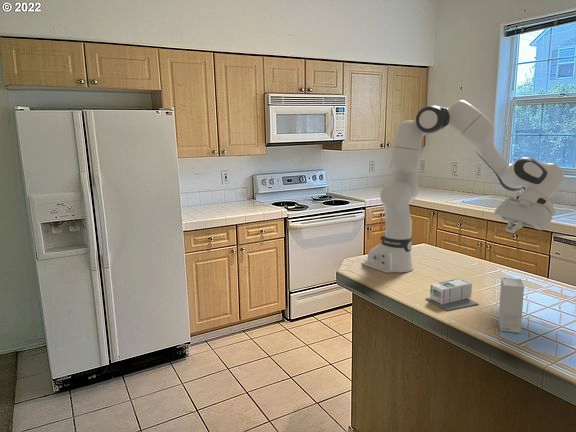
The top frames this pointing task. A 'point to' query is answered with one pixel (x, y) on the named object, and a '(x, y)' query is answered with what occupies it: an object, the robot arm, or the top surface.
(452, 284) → the syrup box
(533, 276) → the top surface
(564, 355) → the top surface
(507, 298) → the skincare box
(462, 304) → the mat
